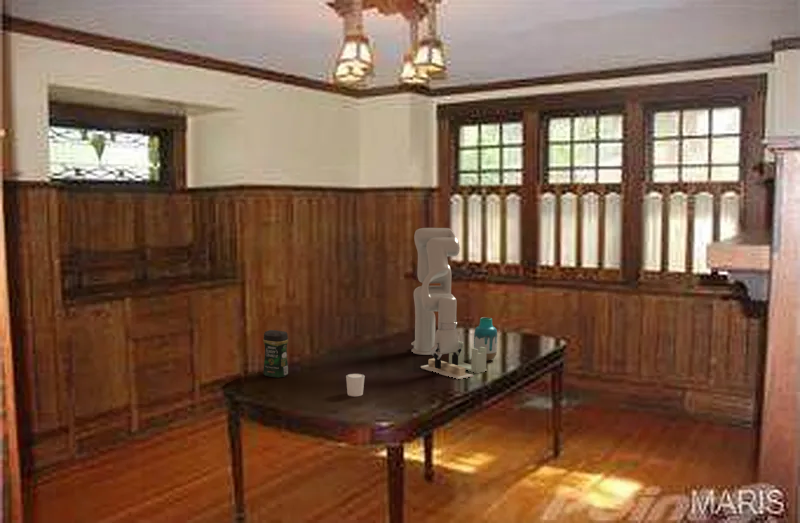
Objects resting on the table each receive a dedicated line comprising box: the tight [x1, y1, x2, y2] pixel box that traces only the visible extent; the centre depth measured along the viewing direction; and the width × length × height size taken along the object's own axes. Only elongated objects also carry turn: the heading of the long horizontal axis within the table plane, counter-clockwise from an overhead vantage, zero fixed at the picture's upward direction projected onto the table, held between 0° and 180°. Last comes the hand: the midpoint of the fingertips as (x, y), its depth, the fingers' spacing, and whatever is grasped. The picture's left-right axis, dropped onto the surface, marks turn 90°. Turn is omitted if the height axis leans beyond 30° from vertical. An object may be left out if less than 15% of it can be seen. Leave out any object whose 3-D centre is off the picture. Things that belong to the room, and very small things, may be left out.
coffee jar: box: [262, 329, 289, 379], centre depth 280 cm, size 10×8×19 cm
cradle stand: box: [448, 340, 488, 374], centre depth 296 cm, size 18×6×10 cm, turn 38°
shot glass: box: [345, 373, 366, 397], centre depth 255 cm, size 7×7×7 cm
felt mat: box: [420, 364, 474, 380], centre depth 289 cm, size 24×8×1 cm, turn 38°
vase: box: [473, 316, 499, 362], centre depth 311 cm, size 11×11×19 cm
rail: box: [427, 358, 466, 376], centre depth 289 cm, size 20×3×3 cm, turn 38°
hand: (446, 366), depth 289 cm, fingers open, 9 cm apart
